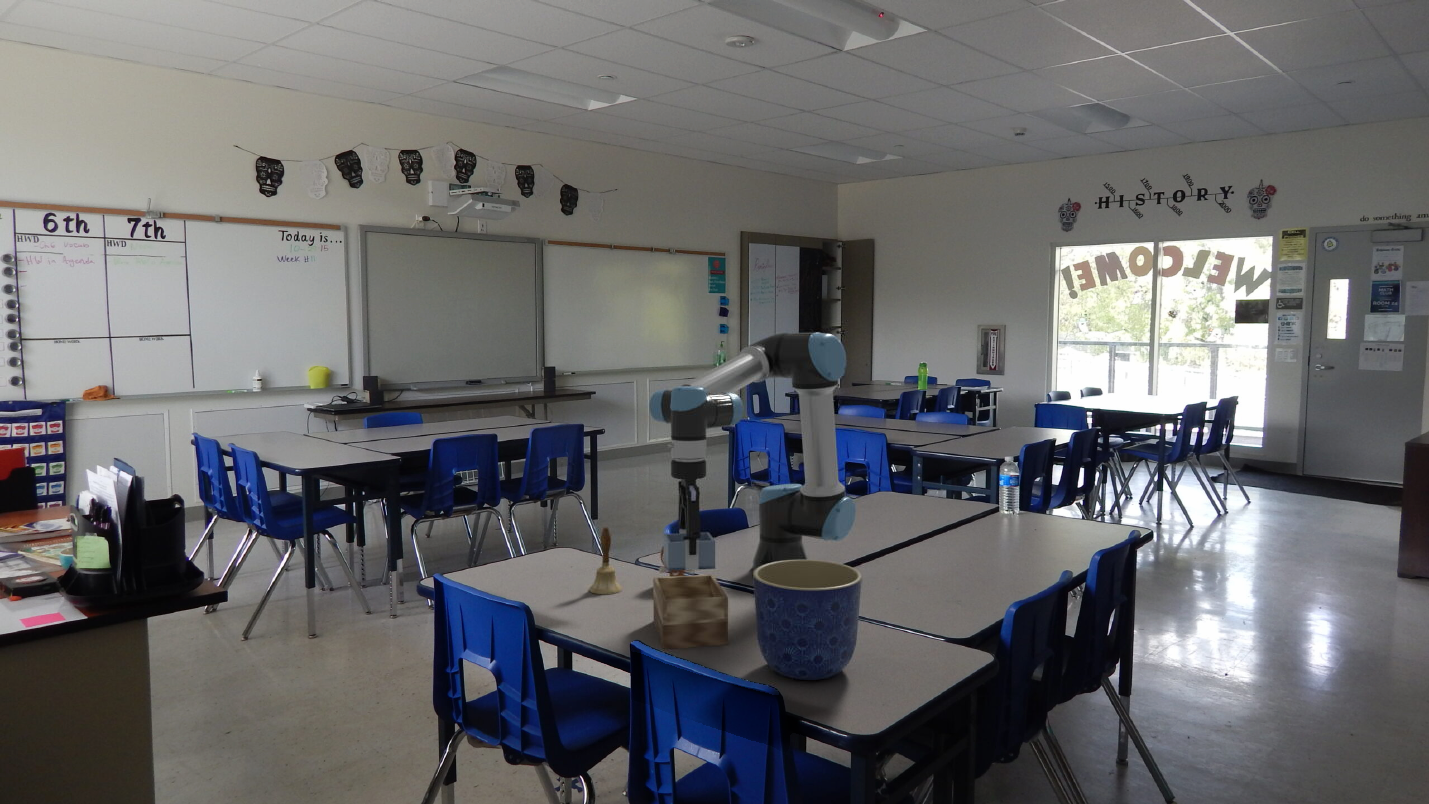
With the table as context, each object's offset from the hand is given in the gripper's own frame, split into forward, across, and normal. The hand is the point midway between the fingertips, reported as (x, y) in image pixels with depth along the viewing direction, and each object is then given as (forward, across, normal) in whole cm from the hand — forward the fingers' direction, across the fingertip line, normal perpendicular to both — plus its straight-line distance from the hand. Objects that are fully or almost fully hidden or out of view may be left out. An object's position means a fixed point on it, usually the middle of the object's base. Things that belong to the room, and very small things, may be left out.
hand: (688, 563), depth 191 cm
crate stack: (+15, 0, 0) cm, 15 cm away
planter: (+15, +25, +19) cm, 35 cm away
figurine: (+15, -35, +2) cm, 38 cm away
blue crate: (0, 0, 0) cm, 0 cm away
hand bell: (+15, -35, -16) cm, 42 cm away
